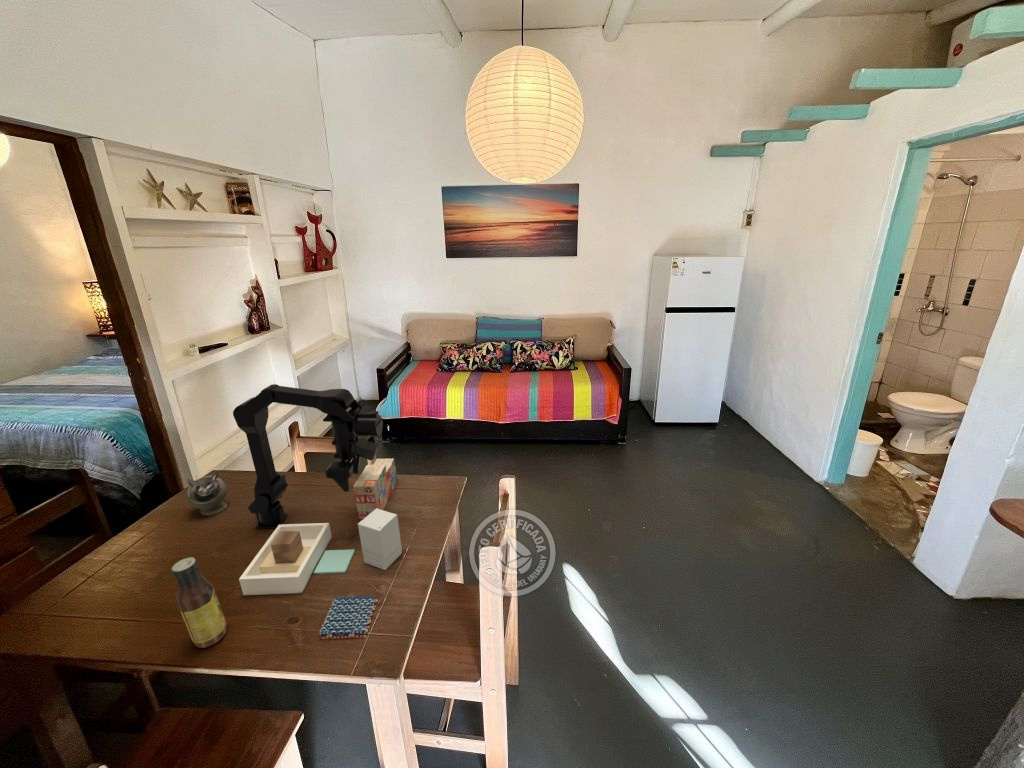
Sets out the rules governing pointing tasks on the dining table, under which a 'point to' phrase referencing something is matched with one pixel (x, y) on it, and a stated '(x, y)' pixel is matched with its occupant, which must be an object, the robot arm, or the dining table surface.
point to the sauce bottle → (198, 604)
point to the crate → (286, 576)
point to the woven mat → (340, 616)
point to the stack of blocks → (374, 486)
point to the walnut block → (287, 547)
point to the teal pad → (334, 561)
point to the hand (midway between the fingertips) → (351, 482)
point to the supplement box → (380, 538)
